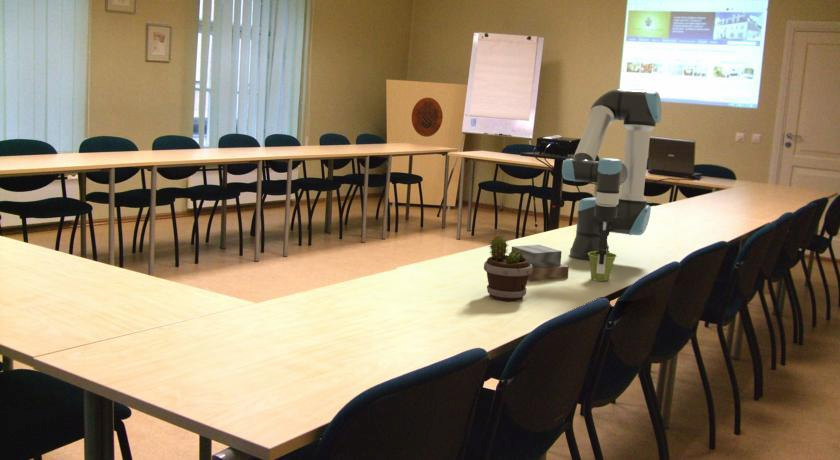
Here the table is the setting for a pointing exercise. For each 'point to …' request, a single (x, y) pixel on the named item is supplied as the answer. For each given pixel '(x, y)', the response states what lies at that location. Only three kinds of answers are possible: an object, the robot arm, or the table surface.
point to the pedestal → (544, 262)
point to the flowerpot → (506, 272)
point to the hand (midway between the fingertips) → (600, 270)
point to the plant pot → (608, 266)
